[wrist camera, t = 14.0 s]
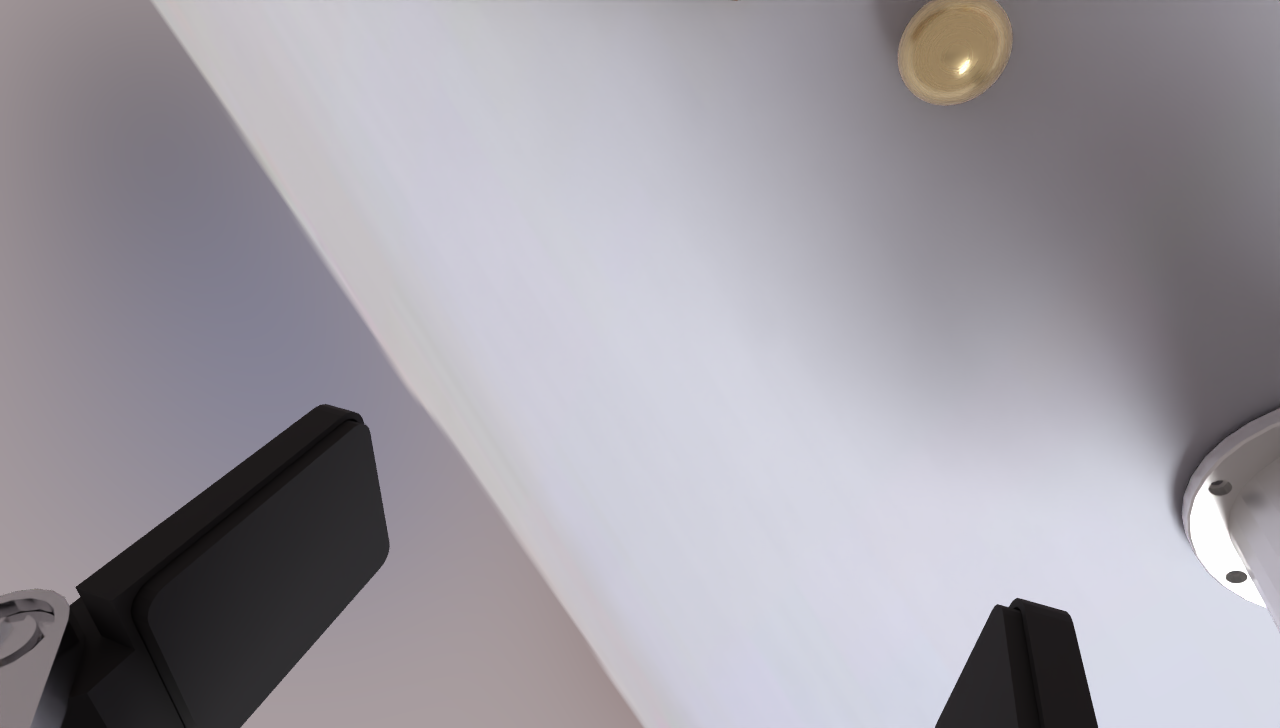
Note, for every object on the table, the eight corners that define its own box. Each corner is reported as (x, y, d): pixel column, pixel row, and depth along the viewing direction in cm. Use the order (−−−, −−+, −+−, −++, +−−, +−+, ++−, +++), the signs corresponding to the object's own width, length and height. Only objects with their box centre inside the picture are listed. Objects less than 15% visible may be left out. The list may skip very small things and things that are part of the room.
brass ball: (1021, -7, 27) (1036, -2, 23) (987, 102, 29) (997, 121, 25) (912, -16, 28) (912, -13, 24) (887, 90, 30) (884, 106, 26)
